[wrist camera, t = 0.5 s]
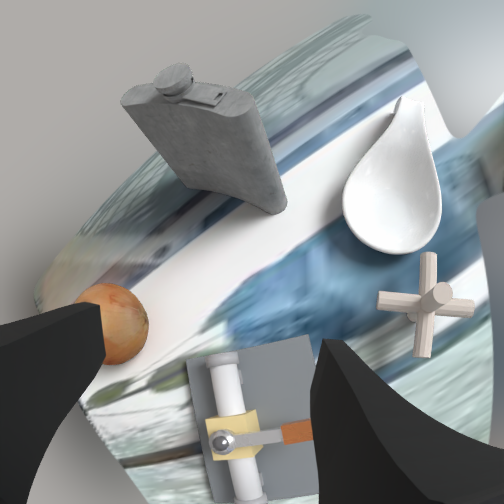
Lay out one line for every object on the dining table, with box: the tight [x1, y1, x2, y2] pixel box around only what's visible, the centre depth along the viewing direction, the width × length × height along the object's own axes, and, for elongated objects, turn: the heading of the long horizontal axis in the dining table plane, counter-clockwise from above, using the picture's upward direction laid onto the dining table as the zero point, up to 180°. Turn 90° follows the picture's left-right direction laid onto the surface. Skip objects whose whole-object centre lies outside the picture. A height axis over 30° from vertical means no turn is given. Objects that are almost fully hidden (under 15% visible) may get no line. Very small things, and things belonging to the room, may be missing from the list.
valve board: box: [186, 334, 319, 504], centre depth 28 cm, size 18×14×6 cm
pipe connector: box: [376, 252, 475, 358], centre depth 27 cm, size 10×10×10 cm
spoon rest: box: [342, 97, 442, 255], centre depth 34 cm, size 24×12×7 cm, turn 158°
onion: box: [75, 283, 149, 365], centre depth 34 cm, size 10×10×10 cm
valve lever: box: [209, 418, 313, 455], centre depth 24 cm, size 11×2×2 cm, turn 101°
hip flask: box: [120, 63, 287, 214], centre depth 33 cm, size 16×4×20 cm, turn 64°
